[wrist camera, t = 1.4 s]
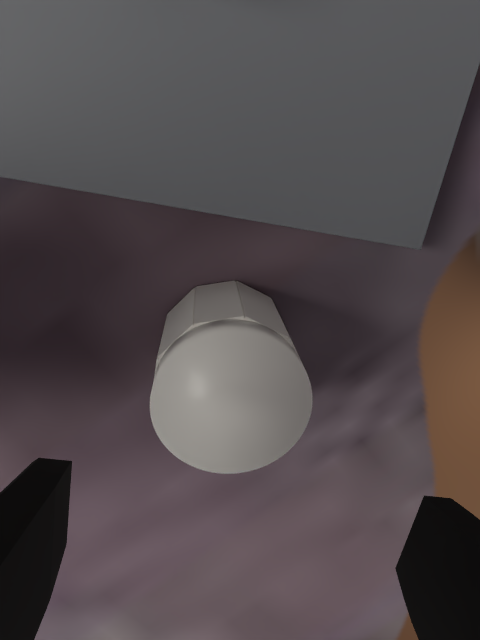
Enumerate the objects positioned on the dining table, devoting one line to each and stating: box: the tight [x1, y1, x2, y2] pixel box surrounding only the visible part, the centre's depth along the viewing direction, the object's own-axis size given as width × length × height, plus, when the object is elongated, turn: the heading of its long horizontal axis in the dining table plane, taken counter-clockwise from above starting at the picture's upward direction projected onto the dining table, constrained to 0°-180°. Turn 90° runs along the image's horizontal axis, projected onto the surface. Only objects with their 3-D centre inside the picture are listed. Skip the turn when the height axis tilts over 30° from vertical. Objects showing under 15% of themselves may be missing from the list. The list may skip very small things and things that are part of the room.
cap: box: [150, 280, 313, 474], centre depth 16 cm, size 5×5×5 cm
